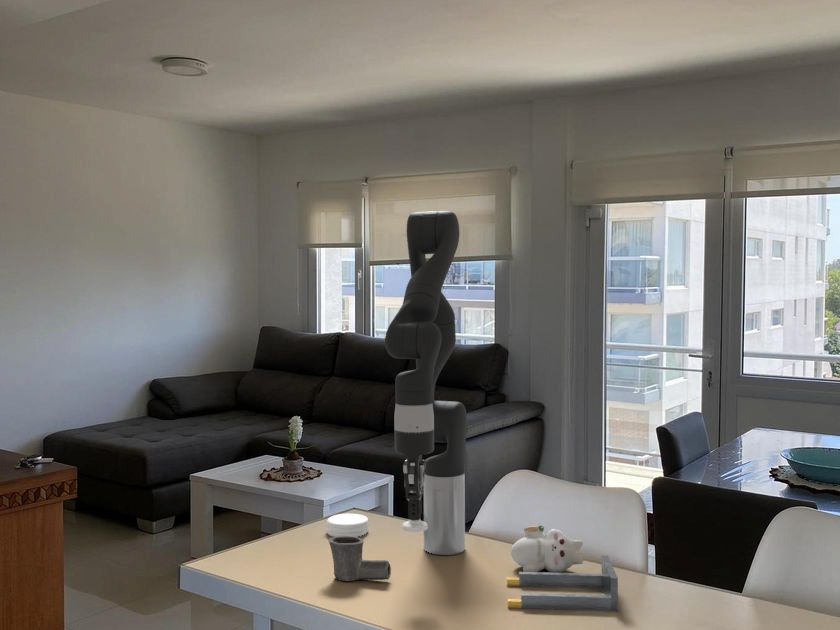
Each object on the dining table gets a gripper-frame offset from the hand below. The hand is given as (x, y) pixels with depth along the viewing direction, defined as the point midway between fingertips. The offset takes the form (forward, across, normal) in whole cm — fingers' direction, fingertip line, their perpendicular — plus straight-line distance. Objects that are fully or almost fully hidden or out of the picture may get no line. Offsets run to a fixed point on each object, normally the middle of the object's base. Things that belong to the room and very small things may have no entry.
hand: (415, 517), depth 150 cm
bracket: (+15, +1, -28) cm, 32 cm away
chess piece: (+2, 0, 0) cm, 2 cm away
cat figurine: (+15, +15, -26) cm, 33 cm away
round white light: (+16, +38, +20) cm, 46 cm away
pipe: (+15, +7, +12) cm, 21 cm away
